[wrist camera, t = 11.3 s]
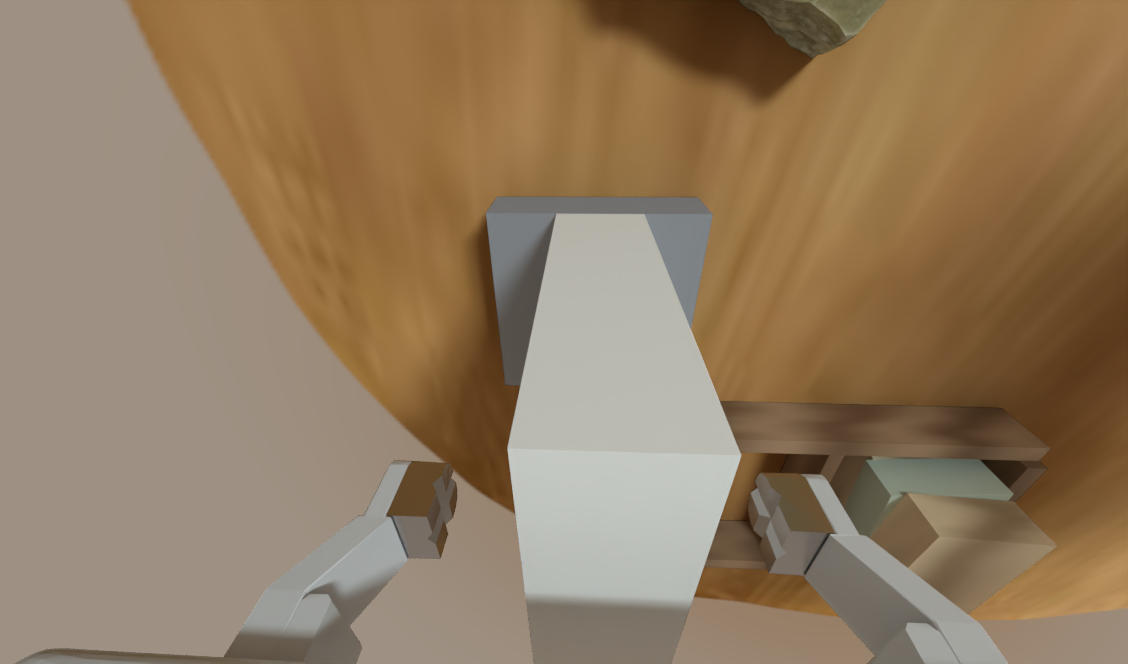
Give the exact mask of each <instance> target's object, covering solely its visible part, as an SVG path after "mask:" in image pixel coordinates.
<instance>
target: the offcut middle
mask: <svg viewBox="0 0 1128 664" xmlns="http://www.w3.org/2000/svg"><path fill="white" fill-rule="evenodd" d="M907 493H915V494H927V495H939V496H952V497H964V498H976V499H988V500H1001V501H1009V499H1010V498H1011V497H1012V496H1013V493H1012V492H1011V491H1010V490H1009V489H1008V488H1007V487H1006V486H1005V485H1004V484H1003V483H1002V482H1001V481H1000V480H999V479H998V478H997V477H996V476H995V475H994V474H993V473H992V472H991V471H990V470H989V469H988V468H987V467H986V466H985V465H984V464H983V463H982V462H981V461H980V460H979V459H949V458H921V459H881V460H865V462H864V464H863V467H862V469H861V471H860V473H859V476H858V478H857V480H856V482H855V484H854V487H853V489H852V491H851V493H850V495H849V498H848V500H847V502H846V504H845V507H844V510H845V511H846V513H847V515H848V516H849V518H850V520H851V521H852V523H853V525H854V526H855V528H856V530H857V531H858V533H859V535H865V536H867V537H869V538H870V537H871V536H872V534H873V533H874V532H875V531H876V530H877V528H878V527H879V526H880V525H881V524H882V522H883V521H884V520H885V519H886V518H887V516H888V515H889V514H890V513H891V511H892V510H893V509H894V508H895V507H896V506H897V504H898V503H899V502H900V501H901V500H902V498H903V497H904V496H905V495H906V494H907Z"/></svg>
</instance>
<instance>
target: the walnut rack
mask: <svg viewBox="0 0 1128 664" xmlns="http://www.w3.org/2000/svg"><path fill="white" fill-rule="evenodd" d="M720 403H721V406H722V408H723V411H724V413H725V416H726V418H727V421H728V423H729V426H730V428H731V431H732V433H733V436H734V438H735V441H736V443H737V446H738V448H739V451H740V452H749V453H783V454H788V456H787V459H786V461H785V463H784V466H783V468H782V470H781V473H798V474H818V475H822V476H824V477H825V478H826V479H827V481H828V483H830V482H831V480H832V478H833V476H834V474H835V472H836V471H837V469H838V467H839V465H840V463H841V461H842V459H843V458H844V456H845V455H849V456H883V457H916V458H949V459H979V460H980V461H981V462H982V463H983V464H984V465H985V466H986V467H987V468H988V469H989V470H990V471H991V472H992V473H993V474H994V475H995V476H996V477H997V478H998V479H999V480H1000V481H1001V482H1002V483H1003V484H1004V485H1005V486H1006V487H1007V488H1008V489H1009V490H1010V491H1011V492H1012V493H1013V496H1012V497H1011V498H1010V499H1009V501H1013V502H1016V501H1017V500H1018V499H1019V498H1020V497H1021V496H1022V495H1023V494H1024V493H1025V492H1026V491H1027V490H1028V489H1029V488H1030V487H1031V486H1032V485H1033V484H1034V483H1035V482H1036V481H1037V480H1038V478H1039V477H1040V476H1041V475H1042V474H1043V473H1044V472H1045V471H1046V470H1047V468H1046V467H1045V466H1044V465H1043V464H1042V463H1040V462H1039V461H1040V459H1041V458H1042V457H1043V456H1044V455H1045V454H1046V453H1047V452H1048V451H1049V450H1050V449H1051V448H1050V447H1049V446H1047V445H1046V444H1045V443H1044V442H1042V441H1041V440H1040V439H1039V438H1037V437H1036V436H1035V435H1034V434H1033V433H1031V432H1030V431H1029V430H1028V429H1026V428H1025V427H1024V426H1023V425H1022V424H1020V423H1019V422H1018V421H1017V420H1015V419H1014V418H1013V417H1012V416H1011V415H1009V414H1008V413H1007V412H1006V411H1004V410H1003V409H1002V408H973V407H933V406H892V405H852V404H812V403H771V402H731V401H720ZM761 541H762V537H761V536H759V535H758V534H757V533H756V532H755V531H754V530H753V528H752V525H751V522H750V521H724V520H720V521H719V524H718V527H717V530H716V533H715V535H714V538H713V541H712V544H711V547H710V550H709V553H708V556H707V559H706V562H705V565H704V567H717V568H741V569H765V570H768V569H767V566H766V563H765V561H764V558H763V555H762V553H761V550H760V547H759V546H760V543H761Z"/></svg>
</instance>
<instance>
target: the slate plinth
mask: <svg viewBox="0 0 1128 664" xmlns="http://www.w3.org/2000/svg"><path fill="white" fill-rule="evenodd" d="M556 214H645V217H646V219H647V222H648V224H649V227H650V229H651V232H652V234H653V237H654V239H655V241H656V244H657V246H658V249H659V251H660V254H661V256H662V259H663V261H664V264H665V266H666V269H667V271H668V274H669V276H670V279H671V281H672V284H673V286H674V289H675V291H676V294H677V296H678V299H679V301H680V304H681V306H682V309H683V311H684V314H685V316H686V319H687V321H688V324H689V326H690V329H691V326H692V321H693V315H694V310H695V305H696V299H697V294H698V289H699V284H700V278H701V273H702V268H703V263H704V257H705V252H706V247H707V242H708V236H709V231H710V226H711V220H712V215H713V214H712V213H711V212H710V211H709V210H708V208H707V207H706V206H705V205H704V204H703V203H702V202H701V200H700V199H699V198H694V197H497V198H496V199H495V201H494V202H493V204H492V205H491V207H490V208H489V209H488V211H487V212H486V219H487V228H488V236H489V245H490V254H491V263H492V272H493V281H494V289H495V298H496V307H497V316H498V325H499V334H500V343H501V351H502V360H503V369H504V378H505V385H521V381H522V376H523V371H524V366H525V361H526V357H527V352H528V347H529V342H530V337H531V333H532V328H533V323H534V318H535V313H536V309H537V304H538V299H539V294H540V289H541V285H542V280H543V275H544V270H545V265H546V261H547V256H548V251H549V246H550V241H551V237H552V232H553V227H554V222H555V218H556Z"/></svg>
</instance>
